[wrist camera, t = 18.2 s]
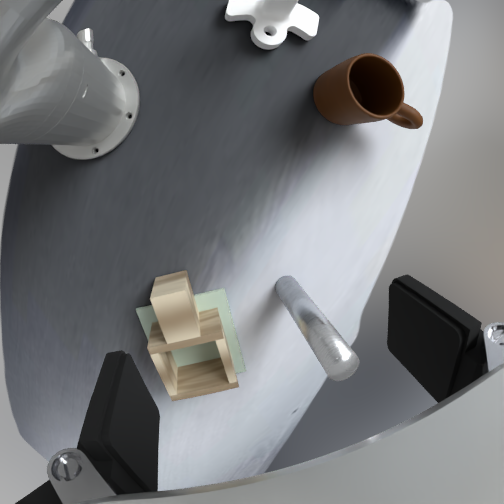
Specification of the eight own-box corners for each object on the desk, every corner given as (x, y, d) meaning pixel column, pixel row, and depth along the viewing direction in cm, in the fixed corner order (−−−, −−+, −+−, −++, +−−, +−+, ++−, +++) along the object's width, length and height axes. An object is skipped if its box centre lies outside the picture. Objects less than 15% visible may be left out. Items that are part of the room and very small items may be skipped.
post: (273, 278, 41) (326, 360, 24) (295, 273, 41) (359, 348, 24) (277, 298, 42) (328, 385, 25) (298, 293, 42) (359, 374, 25)
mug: (394, 105, 36) (438, 99, 28) (377, 151, 38) (421, 153, 29) (322, 60, 33) (358, 38, 24) (302, 108, 35) (334, 96, 26)
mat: (136, 308, 38) (135, 309, 38) (224, 287, 40) (224, 288, 39) (169, 386, 43) (169, 387, 43) (245, 369, 44) (246, 371, 44)
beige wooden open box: (137, 282, 37) (128, 303, 31) (205, 265, 38) (208, 284, 32) (173, 373, 42) (172, 401, 36) (232, 360, 43) (238, 386, 37)
